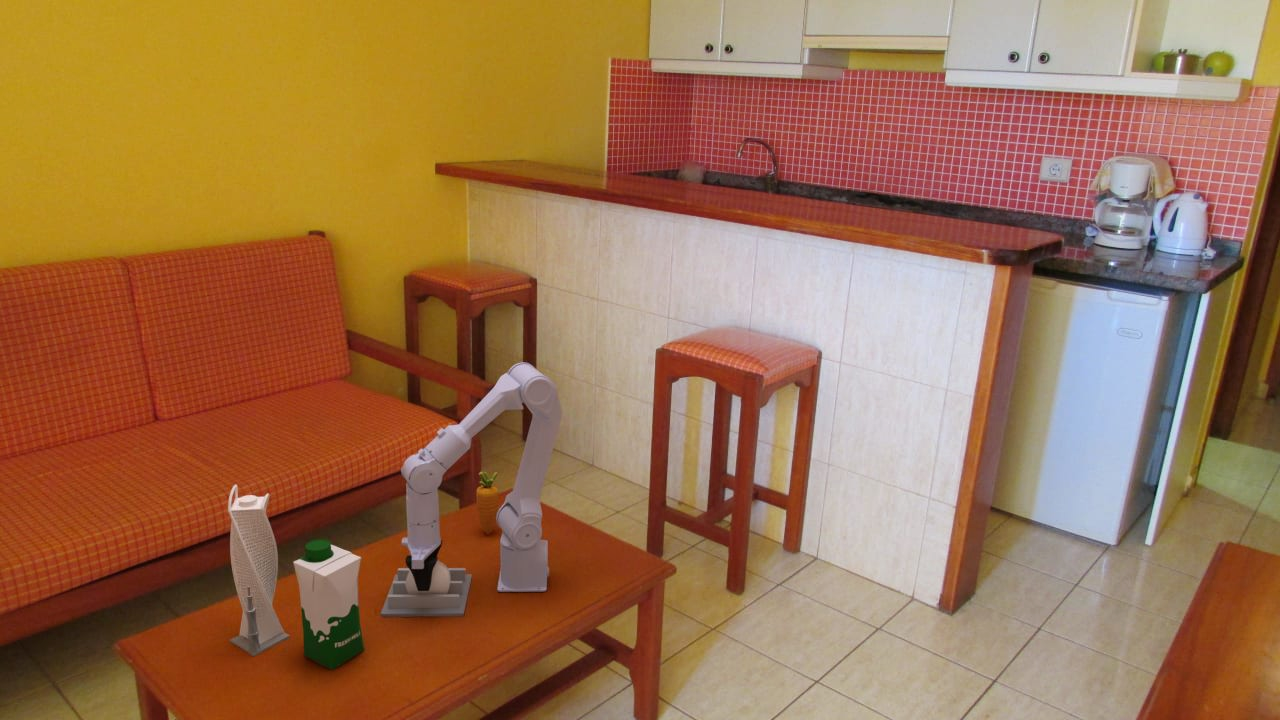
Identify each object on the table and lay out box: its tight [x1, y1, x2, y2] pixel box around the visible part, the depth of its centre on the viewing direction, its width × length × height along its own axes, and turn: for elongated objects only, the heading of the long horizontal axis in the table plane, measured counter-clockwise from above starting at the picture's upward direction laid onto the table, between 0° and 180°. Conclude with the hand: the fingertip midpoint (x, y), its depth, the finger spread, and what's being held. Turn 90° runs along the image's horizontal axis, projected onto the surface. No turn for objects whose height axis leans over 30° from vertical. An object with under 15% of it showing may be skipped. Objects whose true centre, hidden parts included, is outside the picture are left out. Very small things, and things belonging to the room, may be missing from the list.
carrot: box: [475, 471, 500, 535], centre depth 194 cm, size 5×5×15 cm
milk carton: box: [292, 538, 365, 671], centre depth 150 cm, size 9×9×20 cm
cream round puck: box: [406, 559, 451, 595], centre depth 168 cm, size 8×2×8 cm, turn 94°
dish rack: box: [380, 567, 473, 618], centre depth 171 cm, size 15×14×3 cm
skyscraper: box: [227, 483, 291, 657], centre depth 153 cm, size 8×8×28 cm
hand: (425, 584), depth 168 cm, fingers open, 4 cm apart
